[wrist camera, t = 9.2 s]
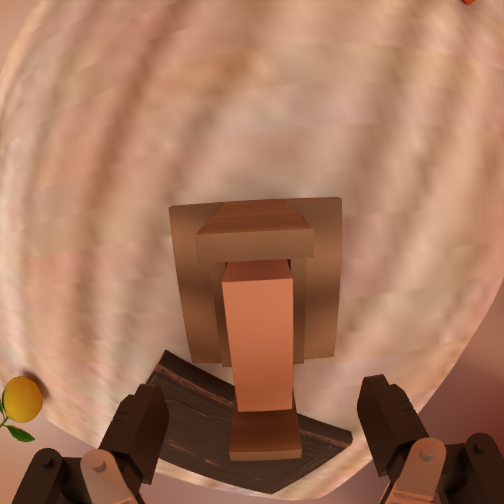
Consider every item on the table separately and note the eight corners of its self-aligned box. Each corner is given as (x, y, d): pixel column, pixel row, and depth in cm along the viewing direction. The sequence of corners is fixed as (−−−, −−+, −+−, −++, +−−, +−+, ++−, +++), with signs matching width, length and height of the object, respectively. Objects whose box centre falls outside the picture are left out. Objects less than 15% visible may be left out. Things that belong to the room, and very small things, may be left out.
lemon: (56, 408, 28) (25, 455, 18) (26, 389, 27) (-8, 430, 18) (50, 377, 26) (10, 427, 16) (18, 356, 25) (-24, 399, 16)
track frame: (172, 206, 20) (95, 242, 10) (337, 197, 20) (415, 225, 9) (194, 355, 24) (164, 455, 13) (331, 349, 23) (366, 447, 13)
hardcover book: (271, 482, 31) (271, 494, 29) (120, 423, 28) (114, 435, 26) (350, 428, 27) (354, 442, 25) (167, 345, 24) (160, 360, 22)
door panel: (235, 239, 20) (221, 282, 12) (278, 236, 20) (292, 278, 12) (243, 338, 22) (238, 411, 14) (281, 336, 22) (291, 409, 14)
